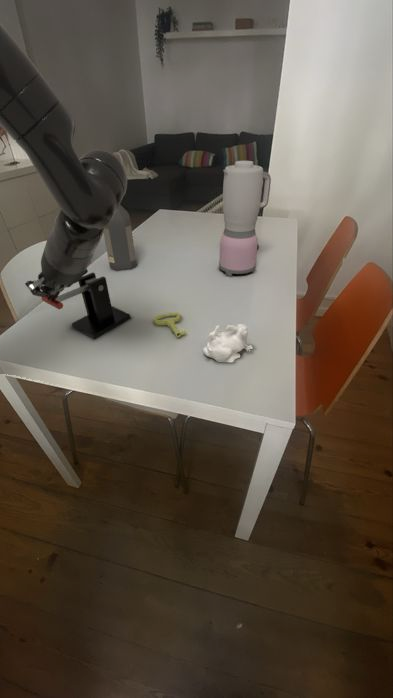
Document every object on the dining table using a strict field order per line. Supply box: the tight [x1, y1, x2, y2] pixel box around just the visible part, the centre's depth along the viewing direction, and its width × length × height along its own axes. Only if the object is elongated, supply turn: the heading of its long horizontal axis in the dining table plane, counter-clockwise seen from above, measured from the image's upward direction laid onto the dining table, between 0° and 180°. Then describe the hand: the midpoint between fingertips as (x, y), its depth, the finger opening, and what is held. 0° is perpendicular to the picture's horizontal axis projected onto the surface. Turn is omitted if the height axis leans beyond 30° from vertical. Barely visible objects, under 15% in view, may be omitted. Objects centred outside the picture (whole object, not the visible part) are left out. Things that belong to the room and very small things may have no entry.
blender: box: [218, 160, 272, 277], centre depth 99 cm, size 16×12×32 cm
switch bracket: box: [71, 271, 131, 340], centre depth 80 cm, size 12×9×13 cm
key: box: [153, 311, 187, 338], centre depth 81 cm, size 7×12×2 cm, turn 39°
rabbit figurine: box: [202, 323, 254, 363], centre depth 68 cm, size 12×8×10 cm, turn 94°
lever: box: [41, 277, 98, 310], centre depth 74 cm, size 13×6×2 cm, turn 142°
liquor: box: [102, 204, 138, 272], centre depth 104 cm, size 9×9×30 cm
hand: (50, 296), depth 69 cm, fingers closed
